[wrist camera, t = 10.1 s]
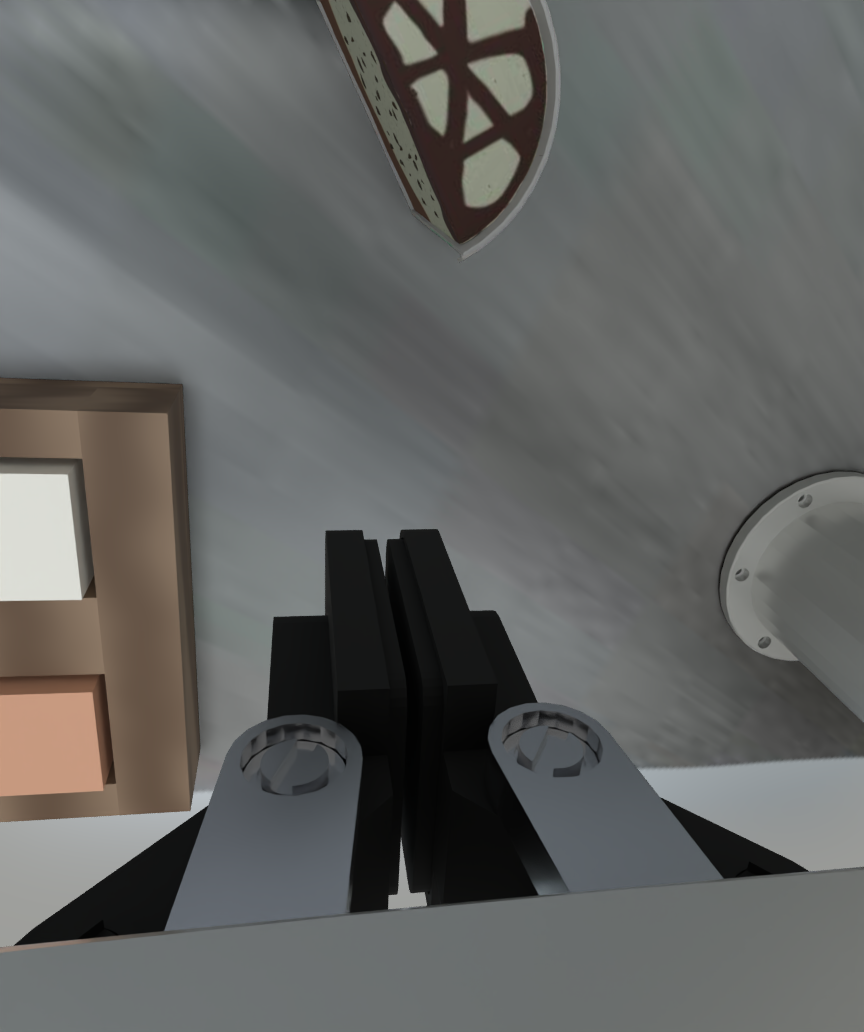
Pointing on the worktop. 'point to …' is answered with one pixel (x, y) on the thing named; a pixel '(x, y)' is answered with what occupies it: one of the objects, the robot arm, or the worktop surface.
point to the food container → (456, 103)
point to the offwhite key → (44, 530)
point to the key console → (115, 587)
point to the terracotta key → (54, 734)
